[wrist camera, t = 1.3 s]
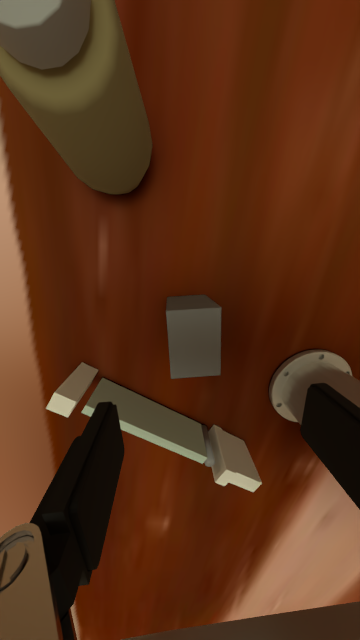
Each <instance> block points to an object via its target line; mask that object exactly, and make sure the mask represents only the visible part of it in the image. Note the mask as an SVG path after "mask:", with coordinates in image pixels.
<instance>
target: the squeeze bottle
mask: <svg viewBox="0 0 360 640" xmlns="http://www.w3.org/2000/svg"><path fill="white" fill-rule="evenodd" d="M0 76H1V77H2V79H3V80H4V82H5V83H6V85H7V86H8V88H9V89H10V90H11V92H12V93H13V94H14V96H15V97H16V98H17V99H18V101H19V102H20V103H21V105H22V106H23V107H24V109H25V110H26V111H27V113H28V114H29V115H30V116H31V118H32V119H33V120H34V122H35V123H36V124H37V126H38V127H39V128H40V130H41V131H42V132H43V133H44V135H45V136H46V137H47V139H48V140H49V141H50V143H51V144H52V145H53V146H54V148H55V149H56V150H57V152H58V153H59V154H60V156H61V157H62V158H63V160H64V161H65V162H66V163H67V165H68V166H69V167H70V169H71V170H72V171H73V173H74V174H75V175H76V176H77V178H79V179H80V180H81V181H83V182H84V183H85V184H86V185H88V186H89V187H90V188H92V189H94V190H97V191H101V192H104V193H108V194H124V193H129V192H131V191H132V190H133V189H135V188H136V187H138V185H139V183H140V181H141V180H142V178H143V176H144V174H145V172H146V171H147V169H148V167H149V164H150V158H151V151H152V139H151V133H150V127H149V122H148V119H147V115H146V111H145V108H144V104H143V101H142V97H141V94H140V90H139V86H138V83H137V79H136V76H135V72H134V69H133V65H132V62H131V58H130V54H129V51H128V47H127V44H126V40H125V37H124V33H123V30H122V26H121V22H120V19H119V15H118V12H117V8H116V5H115V1H114V0H0Z"/></svg>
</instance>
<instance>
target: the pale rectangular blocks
mask: <svg viewBox="0 0 360 640" xmlns="http://www.w3.org/2000/svg"><path fill="white" fill-rule="evenodd" d="M97 372H98V370H97V369H95V368H93V367H91V366H89V365H87V364H85V363H83V362H82V363H81V364H80V365H79V366H78V367H77V368H76V369H75V371H74V372H73V373H72V374H71V375H70V376H69V377H68V378H67V379H66V380H65V381H64V383H63V384H62V385H61V386H60V387H59V388H58V389H57V390H56V391H55V392H54V394H53V396H52V398H51V400H50V402H49V404H48V406H47V408H46V409H48V410H51V411H53V412H56V413H58V414H60V415H63V416H65V417H69V415H70V414H71V412H72V411H73V409H74V408H75V406H76V405H77V403H78V402H79V400H80V399H81V397H82V396H83V394H84V393H85V391H86V390H87V388H88V387H89V386H90V384H91V383H92V381H93V379H94V377H95V376H96V374H97ZM208 434H209V438H210V442H211V447H212V451H213V455H214V460H215V464H214V465H213V466H212V471H213V475H214V480H215V483H218V484H220V485H223V486H225V485H226V484H227V483H228V482H229V483H232V484H234V485H237V486H239V487H241V488H244V489H246V490H249V491H251V492H254V491H255V490H256V489H257V488H258V487H259V486H260V485H261V484H262V482H261V479H260V477H259V475H258V472H257V470H256V468H255V465H254V463H253V461H252V458H251V456H250V454H249V451H248V449H247V447H246V444H245V442H244V440H241V439H239V438H237V437H235V436H233V435H231V434H229V433H227V432H225V431H223V430H222V428H220V427H218V426H216V425H213V426H212V427H211V429H210V430H209V431H208Z"/></svg>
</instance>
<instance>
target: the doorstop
mask: <svg viewBox="0 0 360 640" xmlns="http://www.w3.org/2000/svg"><path fill="white" fill-rule="evenodd" d="M166 317H167V330H168V344H169V357H170V371H171V379H174V378H187V377H201V376H214V375H220V367H221V307H220V306H219V305H218V304H216V303H215V302H214V301H212V300H211V299H210V298H209V297H207V296H206V295H191V296H174V297H167V305H166Z"/></svg>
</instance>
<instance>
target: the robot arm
mask: <svg viewBox="0 0 360 640" xmlns="http://www.w3.org/2000/svg"><path fill="white" fill-rule="evenodd" d="M269 398H270V401H271V403H272V405H273V407H274V408H275V410H276V411H277V412H278V413H279V414H280V415H281V416H282V417H284V418H285V419H287V420H290V421H293V422H299V423H300V424H301V429H300V431H301V435H302V437H303V438H304V440H305V441H306V442H307V443H308V445H309V446H310V447H311V448H312V450H313V451H314V452H315V454H316V455H317V456H318V457H319V459H320V460H321V461H322V462H323V464H324V465H325V466H326V467H327V469H328V470H329V471H330V473H331V474H332V475H333V476H334V478H335V479H336V480H337V481H338V483H339V484H340V485H341V486H342V488H343V489H344V490H345V492H346V493H347V494H348V495H349V497H350V498H351V499H352V500H353V502H354V503H355V504H356V505H357V507H358V508H359V509H360V381H359V380H357V379H356V378H354V377H352V372H351V369H350V366H349V365H348V363H347V362H346V361H345V360H344V359H343V358H342V357H340V356H338V355H336V354H335V353H332V352H330V351H327V350H321V349H316V350H308V351H304V352H301V353H298V354H296V355H294V356H293V357H291V358H289V359H288V360H287V361H285V362H284V363H283V364H282V365H281V366H280V367H279V368H278V369H277V371H276V372H275V374H274V375H273V377H272V380H271V382H270V387H269ZM123 457H124V444H123V438H122V433H121V427H120V422H119V416H118V411H117V406H116V404H113V403H112V402H111V401H109V402H99V403H98V404H97V406H96V408H95V410H94V412H93V414H92V416H91V418H90V420H89V422H88V424H87V426H86V428H85V429H84V431H83V433H82V435H81V436H78V437H76V438H75V440H74V441H73V443H72V445H71V446H70V448H69V450H68V452H67V454H66V456H65V458H64V460H63V461H62V463H61V465H60V467H59V469H58V471H57V473H56V474H55V476H54V478H53V480H52V482H51V484H50V486H49V487H48V489H47V491H46V493H45V495H44V497H43V499H42V501H41V502H40V504H39V506H38V508H37V510H36V512H35V514H34V516H33V517H32V520H31V521H30V523H25V524H22V525H19V526H16V527H15V528H13V529H11V530H10V531H8V532H7V533H5V534H4V535H3V536H2V537H1V538H0V640H77V637H76V632H75V628H74V623H73V618H72V614H71V609H70V607H71V606H72V605H73V604H74V600H75V597H76V593H77V590H78V586H80V585H88V584H89V582H90V578H91V574H92V570H94V569H97V567H98V565H99V561H100V557H101V553H102V549H103V544H104V540H105V536H106V531H107V527H108V523H109V518H110V514H111V509H112V505H113V501H114V496H115V492H116V488H117V483H118V479H119V475H120V470H121V466H122V461H123ZM122 640H360V602H353V603H346V604H340V605H333V606H326V607H319V608H313V609H306V610H300V611H293V612H286V613H280V614H273V615H266V616H260V617H253V618H247V619H241V620H234V621H228V622H222V623H215V624H209V625H203V626H196V627H190V628H184V629H177V630H171V631H165V632H160V633H154V634H149V635H143V636H138V637H133V638H127V639H122Z"/></svg>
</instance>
